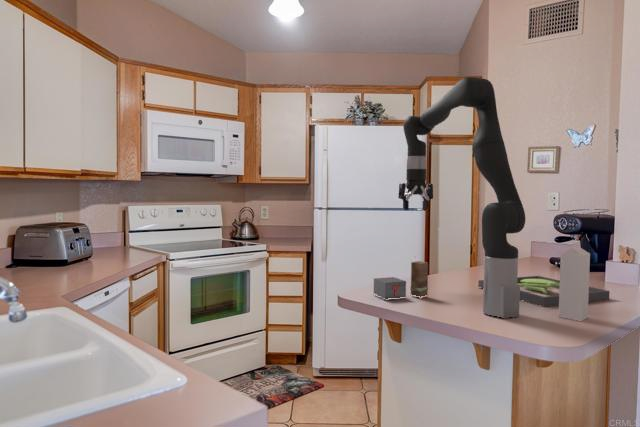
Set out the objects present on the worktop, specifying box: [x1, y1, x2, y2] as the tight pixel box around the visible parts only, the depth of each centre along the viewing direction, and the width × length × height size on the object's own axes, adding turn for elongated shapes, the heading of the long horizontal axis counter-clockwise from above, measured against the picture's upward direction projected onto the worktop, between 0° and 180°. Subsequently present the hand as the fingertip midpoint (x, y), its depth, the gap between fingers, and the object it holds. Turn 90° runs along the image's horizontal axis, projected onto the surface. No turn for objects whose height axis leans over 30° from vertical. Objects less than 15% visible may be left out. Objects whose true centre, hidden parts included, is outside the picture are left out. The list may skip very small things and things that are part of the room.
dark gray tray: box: [477, 275, 610, 307], centre depth 161 cm, size 30×30×3 cm
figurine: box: [519, 279, 560, 295], centre depth 162 cm, size 18×27×6 cm
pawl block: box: [373, 276, 407, 299], centre depth 153 cm, size 8×8×6 cm
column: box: [410, 260, 429, 297], centre depth 154 cm, size 4×4×12 cm
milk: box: [558, 241, 591, 322], centre depth 130 cm, size 6×6×22 cm
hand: (415, 210), depth 173 cm, fingers open, 8 cm apart
